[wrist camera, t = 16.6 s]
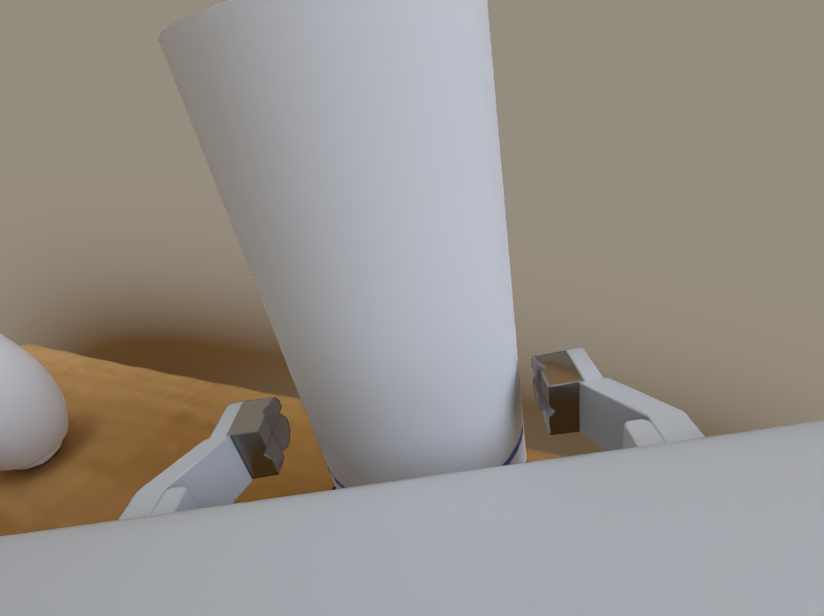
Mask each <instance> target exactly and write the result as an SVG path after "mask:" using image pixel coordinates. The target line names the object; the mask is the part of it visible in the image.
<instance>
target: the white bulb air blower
mask: <svg viewBox="0 0 824 616" xmlns="http://www.w3.org/2000/svg"><path fill="white" fill-rule="evenodd" d="M68 423H69V419H68V410H67V406H66V402H65V399H64V396H63V394H62V392H61V390H60V388H59V386H58V385H57V383H56V381H55V380H54V379H53V377H52V376H51V375H50V373H49V372H48V371H47V370H46V369H45V368H44V367H43V366H42V364H41V363H39V362H38V361H37V360H36V359H35V358H34V357H33V356H32V355H31V354H29V353H28V352H27V351H26V350H24V349H23V348H22V347H20V346H19V345H17V344H16V343H14V342H13V341H11V340H10V339H8V338H7V337H5V336H3V335H2V334H0V470H3V471H6V470H14V469H19V470H23V469H29V468H32V467H34V466H38V465H41V464H43V463H45V462H46V461H48V460H49V459H50V458H51V457H52V456H53V455H54V454H55V453H56V452H57V450H58V449H59V448H60V447H61V444H62V440H63V439H64V438H65V436H66V434H67V432H68Z"/></svg>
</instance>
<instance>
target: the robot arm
mask: <svg viewBox="0 0 824 616" xmlns="http://www.w3.org/2000/svg"><path fill="white" fill-rule="evenodd" d="M532 368H533V371H534V373H535V376H534V378H533V386H534V392H535V397H536V401H537V404H538V406H539V409H541V410H543V417H544V421H545V424H546V426H547V428H548V431H549V433H550V435H555V434H563V433H570V432H580V433H581V434H582V435H583V436H585V437H586V438H587V439H589V440H590V441H591V442H593V443H594V444H595V445H597V446H598V447H599V448H601V449H602V450H603V451H604V452H597V453H591V454H583V455H576V456H569V457H562V458H555V459H547V460H540V461H533V462H526V463H519V464H512V465H505V466H498V467H491V468H484V469H477V470H470V471H463V472H456V473H448V474H441V475H434V476H427V477H420V478H413V479H406V480H399V481H392V482H385V483H378V484H370V485H363V486H356V487H349V488H342V489H335V490H328V491H321V492H314V493H307V494H300V495H292V496H285V497H278V498H271V499H264V500H257V501H250V502H243V503H236V504H232V503H233V502H234V501H235V500H236V499H237V498H238V497H239V495H240V494H241V493H242V492H243V491H244V490H245V489H246V487H247V486H248V485H249V484H250V483H251V482H252V481H253V480H252V479H256V478H261V477H267V476H273V475H278V474H279V472H280V469H281V466H282V463H283V460H284V456H283V453H282V452H283V451H284V450H285V449H286V448H287V447H288V444H289V441H290V427H289V422H288V420H287V418H286V417H285V416H284V415H282V414H281V413H280V410H281V408H282V406H281V404H280V402H279V400H278V398H276V397H271V398H264V399H256V400H249V401H242V402H236V403H231V404H229V405H228V406H227V407H226V409H225V411H224V413H223V415H222V416H221V418H220V420H219V422H218V424H217V425H216V427H215V429H214V431H213V433H212V434H211V436H210V438H209V439H206V440H203V441H202V442H201V443H200V444H198V445H197V446H196V447H194V448H193V449H192V450H190V451H189V452H188V453H186V454H185V455H184V456H183V457H181V458H180V459H179V460H177V461H176V462H175V463H173V464H172V465H171V466H169V467H168V468H167V469H165V470H164V471H163V472H162V473H160V474H159V475H158V476H156V477H155V478H154V479H152V480H151V481H150V482H148V483H147V484H146V485H144V486H143V487H142V488H141V489H139V490H138V491H137V492H136V493H135V495H134V496H133V498H132V500H131V501H130V503H129V504H128V506H127V507H126V509H125V510H124V512H123V513H122V515H121V516H120V518H119V519H118V520H115V521H108V522H101V523H94V524H87V525H80V526H73V527H66V528H58V529H51V530H44V531H37V532H30V533H23V534H15V535H7V536H0V616H824V420H823V421H815V422H809V423H802V424H795V425H788V426H782V427H774V428H767V429H760V430H753V431H746V432H739V433H732V434H725V435H718V436H711V437H705V436H704V435H703V434H702V433H701V432H700V430H699V429H698V428H697V427H696V426H695V424H694V423H693V422H692V421H691V420H690V418H689V417H688V416H687V415H686V414H685V412H683V411H681V410H679V409H677V408H674V407H672V406H670V405H668V404H666V403H663V402H661V401H659V400H656V399H654V398H652V397H650V396H648V395H645V394H643V393H641V392H639V391H637V390H634V389H632V388H630V387H628V386H626V385H623V384H621V383H619V382H617V381H614V380H612V379H610V378H603V377H602V375H601V374H600V372H599V371H598V370H597V368H596V367H595V365H594V364H593V362H592V361H591V359H590V358H589V356H588V355H587V354H586V352H585V350H584V349H583V348H581V347H579V348H574V349H569V350H565V351H560V352H555V353H549V354H543V355H537V356H532Z"/></svg>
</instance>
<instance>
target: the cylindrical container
mask: <svg viewBox="0 0 824 616" xmlns="http://www.w3.org/2000/svg"><path fill="white" fill-rule="evenodd" d="M159 42H160V44H161V47H162V49H163V52H164V54H165V57H166V60H167V62H168V65H169V67H170V70H171V72H172V75H173V77H174V80H175V82H176V85H177V87H178V90H179V92H180V95H181V97H182V100H183V103H184V105H185V107H186V110H187V113H188V115H189V118H190V120H191V123H192V125H193V128H194V130H195V133H196V135H197V138H198V140H199V143H200V146H201V148H202V151H203V153H204V155H205V158H206V161H207V163H208V166H209V168H210V171H211V173H212V176H213V178H214V181H215V183H216V186H217V188H218V191H219V194H220V196H221V199H222V201H223V203H224V206H225V209H226V211H227V214H228V216H229V219H230V221H231V224H232V226H233V229H234V232H235V234H236V236H237V239H238V242H239V244H240V247H241V249H242V252H243V254H244V257H245V259H246V262H247V264H248V267H249V269H250V272H251V275H252V277H253V280H254V282H255V285H256V287H257V290H258V292H259V295H260V297H261V299H262V302H263V305H264V307H265V310H266V312H267V315H268V317H269V320H270V323H271V325H272V328H273V330H274V333H275V335H276V338H277V340H278V343H279V345H280V348H281V350H282V353H283V355H284V358H285V360H286V363H287V365H288V368H289V371H290V373H291V376H292V378H293V381H294V383H295V386H296V388H297V391H298V393H299V396H300V399H301V401H302V404H303V406H304V409H305V411H306V414H307V416H308V419H309V421H310V424H311V427H312V429H313V432H314V434H315V437H316V439H317V442H318V444H319V447H320V449H321V452H322V454H323V457H324V459H325V462H326V464H327V466H328V470H329V472H330V475H331V477H332V480H333V482H334V485H335V487H336V489H342V488H349V487H356V486H363V485H370V484H378V483H385V482H392V481H399V480H406V479H413V478H420V477H427V476H434V475H441V474H448V473H456V472H463V471H470V470H477V469H484V468H491V467H498V466H505V465H512V464H519V463H526V462H527V461H526V449H525V437H524V425H523V414H522V402H521V391H520V379H519V368H518V356H517V344H516V333H515V320H514V309H513V297H512V286H511V274H510V263H509V250H508V239H507V227H506V217H505V204H504V192H503V180H502V168H501V157H500V147H499V146H500V145H499V134H498V122H497V110H496V100H495V88H494V75H493V63H492V52H491V40H490V28H489V17H488V6H487V0H229V1H226V2H223V3H220V4H217V5H214V6H211V7H208V8H206V9H203V10H201V11H199V12H196V13H193V14H191V15H189V16H186V17H184V18H183V19H180V20H179V21H177V22H175V23H173V24H171V25H170V26H168V27H167V28H166V29H165V30H163V31H162V32H161V33H160V37H159Z"/></svg>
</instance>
